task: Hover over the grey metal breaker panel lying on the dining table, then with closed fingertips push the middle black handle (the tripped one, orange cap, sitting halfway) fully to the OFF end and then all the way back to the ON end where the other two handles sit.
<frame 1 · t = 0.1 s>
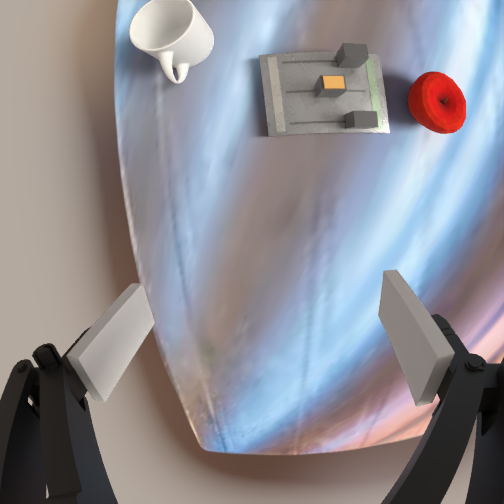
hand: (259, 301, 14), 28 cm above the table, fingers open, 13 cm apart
mug: (188, 55, 33), on the table
apple: (421, 106, 32), on the table
panel: (324, 93, 34), on the table
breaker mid: (330, 86, 29), point 5 cm above the table, slide at 0.0 cm
breaker 2: (360, 120, 30), point 5 cm above the table, slide at 3.5 cm
breaker 1: (351, 56, 27), point 5 cm above the table, slide at 3.5 cm
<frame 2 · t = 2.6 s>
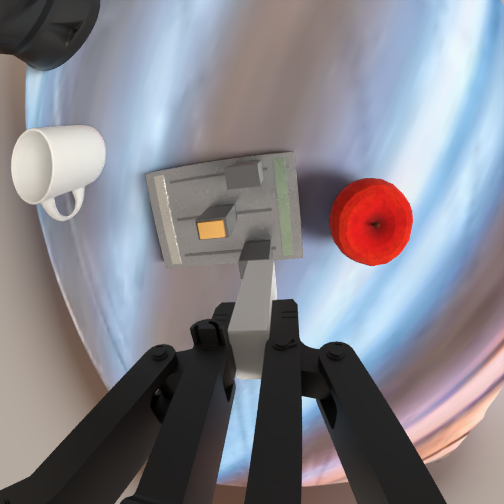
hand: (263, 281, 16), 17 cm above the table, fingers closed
mug: (86, 166, 32), on the table
apple: (357, 208, 31), on the table
panel: (226, 210, 33), on the table
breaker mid: (217, 221, 28), point 5 cm above the table, slide at 0.0 cm
breaker 2: (256, 258, 30), point 5 cm above the table, slide at 3.5 cm
breaker 1: (245, 173, 26), point 5 cm above the table, slide at 3.5 cm
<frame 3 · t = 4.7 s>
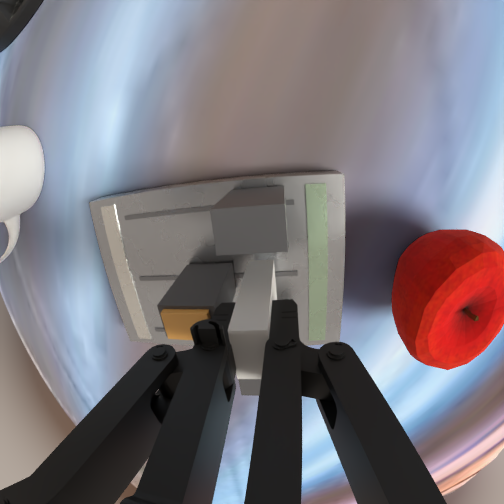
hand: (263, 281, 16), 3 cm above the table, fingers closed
mug: (25, 184, 20), on the table
apple: (423, 265, 19), on the table
panel: (218, 264, 20), on the table
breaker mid: (200, 299, 16), point 5 cm above the table, slide at 0.0 cm, touching gripper
breaker 2: (268, 356, 17), point 5 cm above the table, slide at 3.5 cm
breaker 1: (255, 215, 14), point 5 cm above the table, slide at 3.5 cm
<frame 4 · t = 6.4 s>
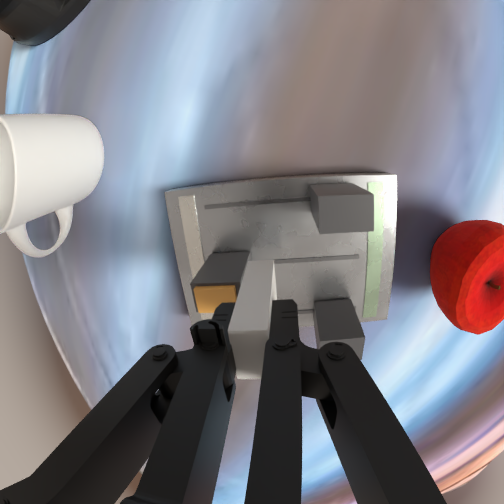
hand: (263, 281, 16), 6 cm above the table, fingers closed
mug: (77, 175, 22), on the table
apple: (450, 252, 21), on the table
panel: (286, 251, 23), on the table
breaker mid: (224, 280, 19), point 5 cm above the table, slide at -4.0 cm
breaker 2: (336, 329, 19), point 5 cm above the table, slide at 3.5 cm
breaker 1: (338, 204, 16), point 5 cm above the table, slide at 3.5 cm
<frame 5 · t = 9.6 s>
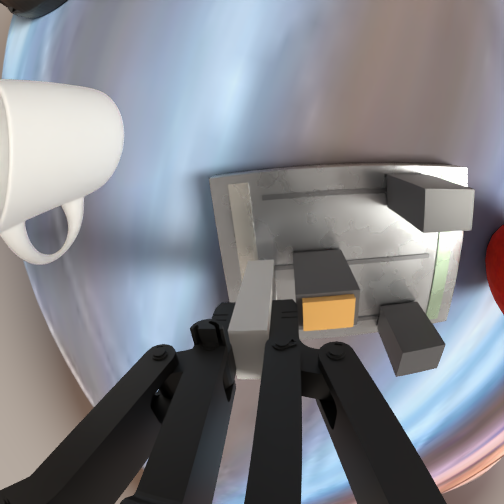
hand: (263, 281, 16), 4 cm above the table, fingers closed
mug: (87, 161, 19), on the table
apple: (500, 249, 17), on the table
panel: (348, 250, 19), on the table
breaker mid: (322, 287, 15), point 5 cm above the table, slide at -2.5 cm, touching gripper
breaker 2: (408, 336, 16), point 5 cm above the table, slide at 3.5 cm
breaker 1: (426, 198, 12), point 5 cm above the table, slide at 3.5 cm
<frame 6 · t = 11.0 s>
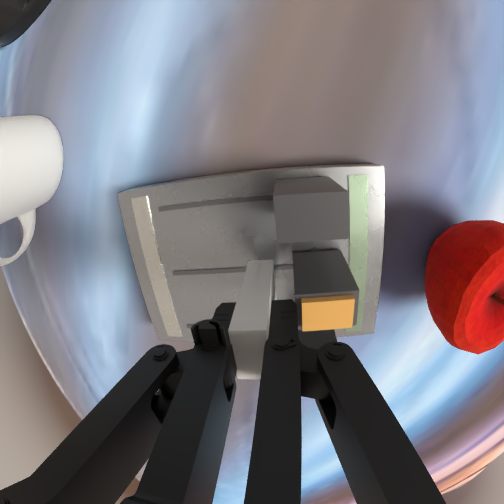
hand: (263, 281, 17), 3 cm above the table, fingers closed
mug: (40, 177, 19), on the table
apple: (449, 256, 18), on the table
panel: (255, 256, 20), on the table
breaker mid: (321, 287, 15), point 5 cm above the table, slide at 4.1 cm, touching gripper
breaker 2: (311, 348, 17), point 5 cm above the table, slide at 3.5 cm
breaker 1: (307, 204, 13), point 5 cm above the table, slide at 3.5 cm
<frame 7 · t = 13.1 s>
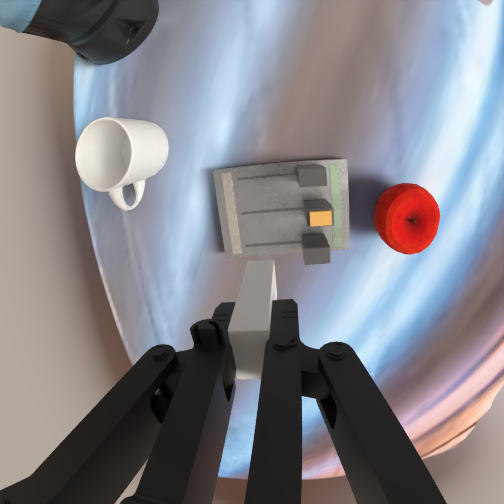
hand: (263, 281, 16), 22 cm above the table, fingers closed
mug: (145, 160, 37), on the table
apple: (392, 208, 36), on the table
panel: (284, 206, 37), on the table
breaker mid: (318, 212, 32), point 5 cm above the table, slide at 4.0 cm
breaker 2: (315, 248, 34), point 5 cm above the table, slide at 3.5 cm
breaker 1: (310, 175, 31), point 5 cm above the table, slide at 3.5 cm
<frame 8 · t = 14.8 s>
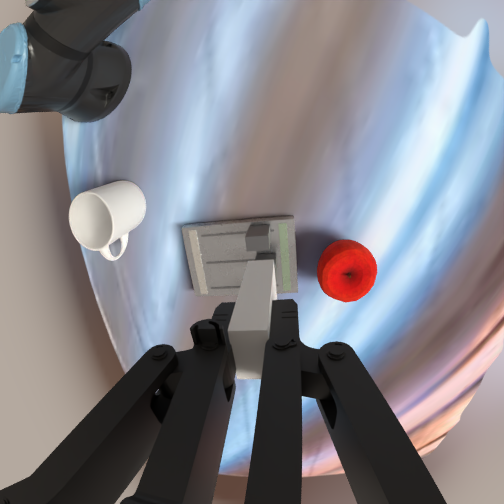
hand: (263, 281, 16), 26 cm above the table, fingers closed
mug: (128, 213, 45), on the table
apple: (340, 256, 43), on the table
panel: (242, 256, 45), on the table
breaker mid: (265, 267, 40), point 5 cm above the table, slide at 4.0 cm
breaker 1: (258, 237, 38), point 5 cm above the table, slide at 3.5 cm
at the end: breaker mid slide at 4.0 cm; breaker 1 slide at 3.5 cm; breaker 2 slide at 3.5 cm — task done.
